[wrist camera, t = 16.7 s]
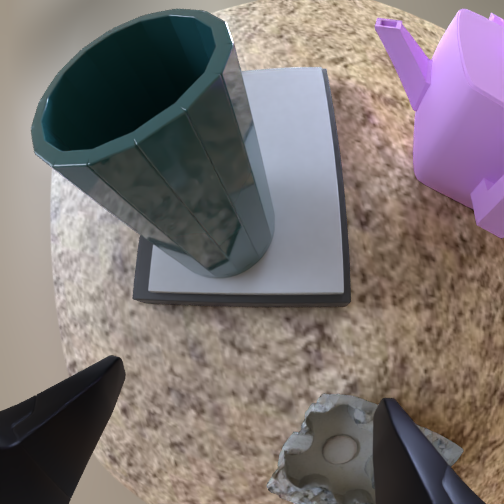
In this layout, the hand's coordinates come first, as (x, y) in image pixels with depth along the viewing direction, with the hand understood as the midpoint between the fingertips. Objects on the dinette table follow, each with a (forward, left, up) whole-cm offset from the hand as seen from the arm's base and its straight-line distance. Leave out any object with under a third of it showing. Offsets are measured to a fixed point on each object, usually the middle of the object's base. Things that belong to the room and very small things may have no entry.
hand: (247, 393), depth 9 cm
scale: (-2, +14, -10) cm, 17 cm away
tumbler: (-3, +9, -8) cm, 12 cm away
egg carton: (+6, -6, -10) cm, 14 cm away
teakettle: (+18, +18, -10) cm, 27 cm away
